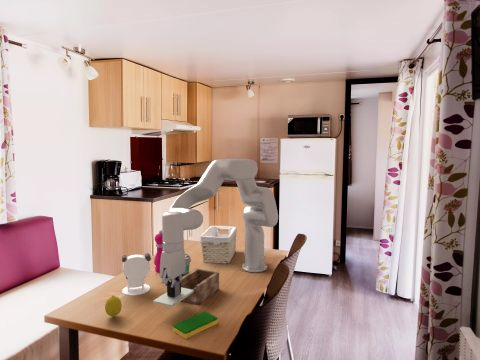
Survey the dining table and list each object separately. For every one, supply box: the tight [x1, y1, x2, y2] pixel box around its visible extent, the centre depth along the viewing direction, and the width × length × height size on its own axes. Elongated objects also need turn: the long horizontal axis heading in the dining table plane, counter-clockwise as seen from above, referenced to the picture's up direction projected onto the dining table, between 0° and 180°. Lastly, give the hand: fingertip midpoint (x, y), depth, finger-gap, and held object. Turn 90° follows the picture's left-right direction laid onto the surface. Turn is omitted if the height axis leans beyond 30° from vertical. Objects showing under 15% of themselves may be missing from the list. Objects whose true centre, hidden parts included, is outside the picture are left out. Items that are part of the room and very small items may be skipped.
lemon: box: [104, 295, 123, 318], centre depth 124 cm, size 6×6×8 cm
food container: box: [183, 253, 192, 276], centre depth 160 cm, size 12×6×10 cm, turn 168°
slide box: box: [180, 268, 220, 306], centre depth 143 cm, size 16×11×8 cm
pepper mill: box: [153, 229, 163, 273], centre depth 170 cm, size 7×7×20 cm
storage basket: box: [199, 225, 238, 264], centre depth 191 cm, size 24×16×15 cm
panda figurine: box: [121, 252, 152, 297], centre depth 148 cm, size 12×11×15 cm
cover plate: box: [152, 280, 194, 308], centre depth 128 cm, size 14×8×6 cm, turn 155°
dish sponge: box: [172, 310, 218, 339], centre depth 118 cm, size 7×14×2 cm, turn 135°
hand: (174, 294), depth 128 cm, fingers closed on cover plate, 3 cm apart
